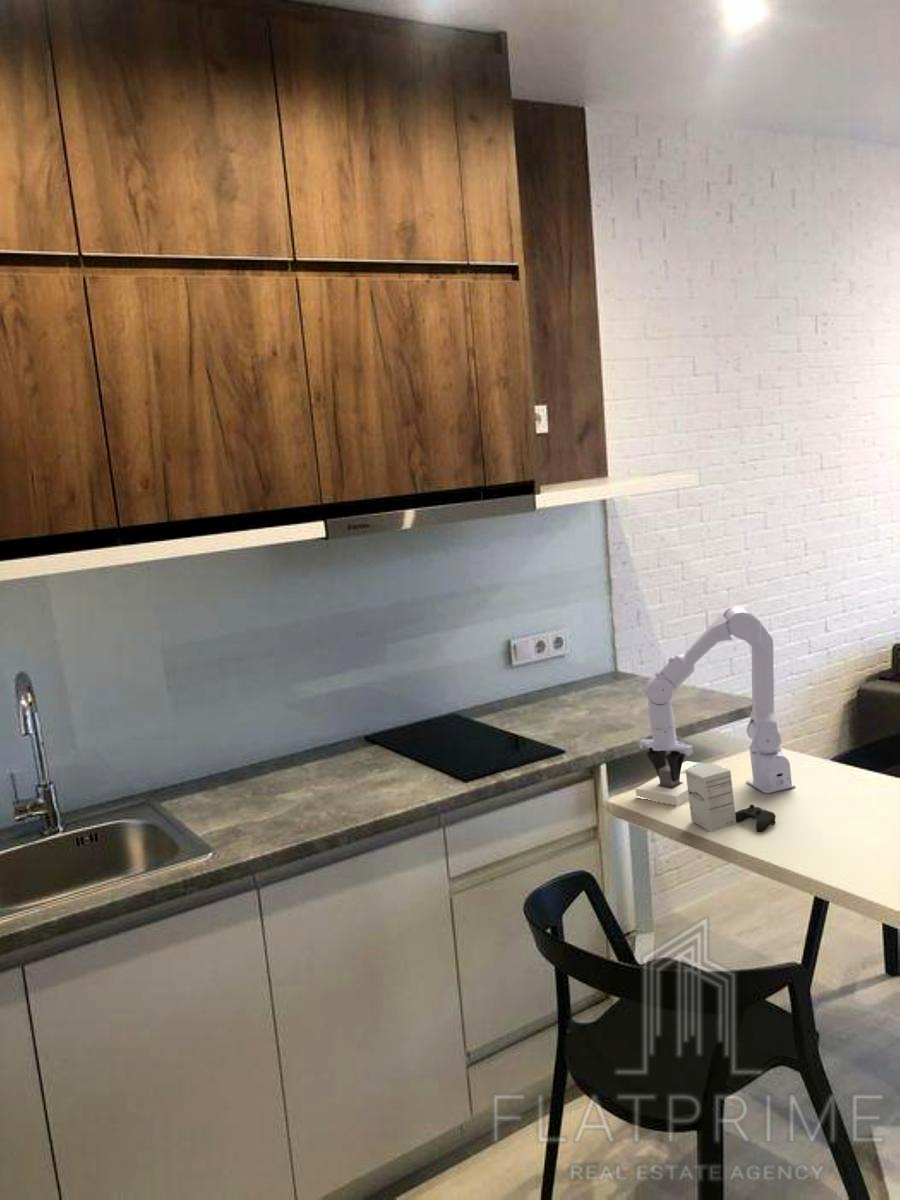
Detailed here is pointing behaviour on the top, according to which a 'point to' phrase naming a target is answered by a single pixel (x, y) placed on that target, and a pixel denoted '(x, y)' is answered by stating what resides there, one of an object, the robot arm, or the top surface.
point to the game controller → (756, 817)
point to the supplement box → (711, 796)
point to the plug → (667, 778)
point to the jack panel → (665, 794)
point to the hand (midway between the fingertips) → (669, 778)
